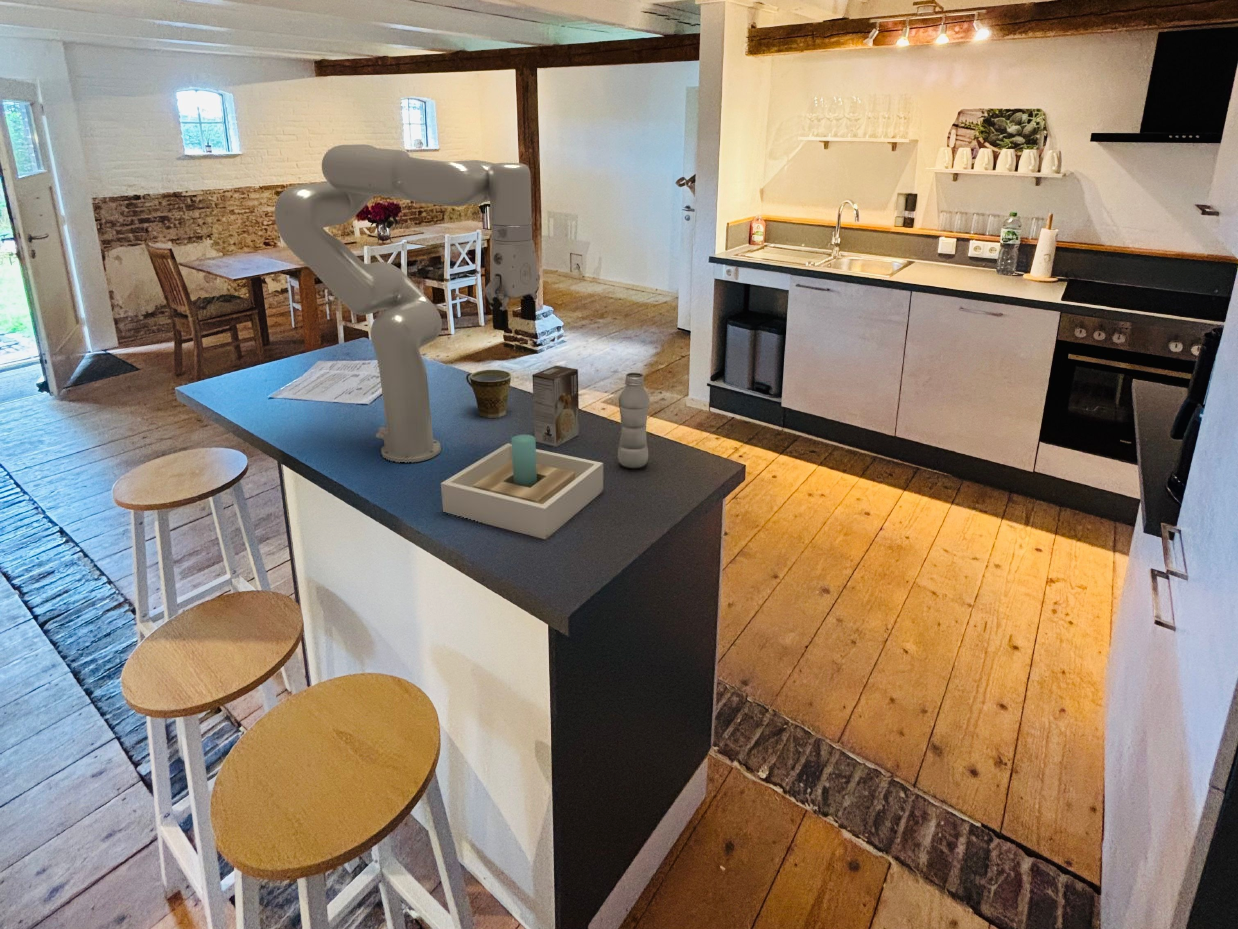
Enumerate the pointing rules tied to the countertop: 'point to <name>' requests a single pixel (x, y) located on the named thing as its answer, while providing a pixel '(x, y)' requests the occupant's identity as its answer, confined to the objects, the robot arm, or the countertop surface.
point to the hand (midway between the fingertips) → (515, 324)
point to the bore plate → (541, 492)
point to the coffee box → (556, 405)
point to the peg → (524, 460)
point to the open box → (517, 511)
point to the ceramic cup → (490, 391)
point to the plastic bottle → (633, 422)
